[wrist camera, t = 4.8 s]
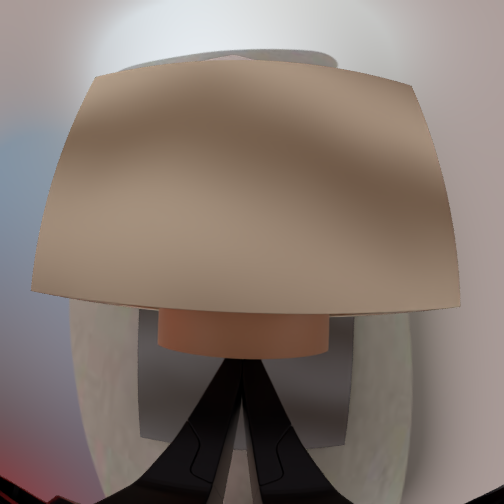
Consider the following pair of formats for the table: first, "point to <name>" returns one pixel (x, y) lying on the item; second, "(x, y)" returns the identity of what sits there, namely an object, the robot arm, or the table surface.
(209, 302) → the knob mount
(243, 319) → the knob
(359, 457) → the table surface
